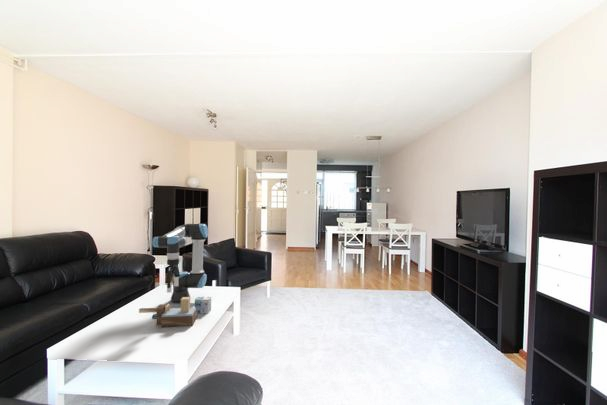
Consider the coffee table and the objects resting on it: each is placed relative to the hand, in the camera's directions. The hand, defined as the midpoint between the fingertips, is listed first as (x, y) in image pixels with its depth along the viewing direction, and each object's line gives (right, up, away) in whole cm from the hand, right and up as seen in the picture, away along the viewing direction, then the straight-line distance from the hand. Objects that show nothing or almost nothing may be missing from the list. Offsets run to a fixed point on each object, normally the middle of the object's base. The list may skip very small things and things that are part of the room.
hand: (172, 289), depth 200 cm
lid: (+4, -17, +1) cm, 17 cm away
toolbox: (+2, -24, +1) cm, 24 cm away
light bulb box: (+13, -24, +22) cm, 35 cm away
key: (-15, -15, -2) cm, 21 cm away
